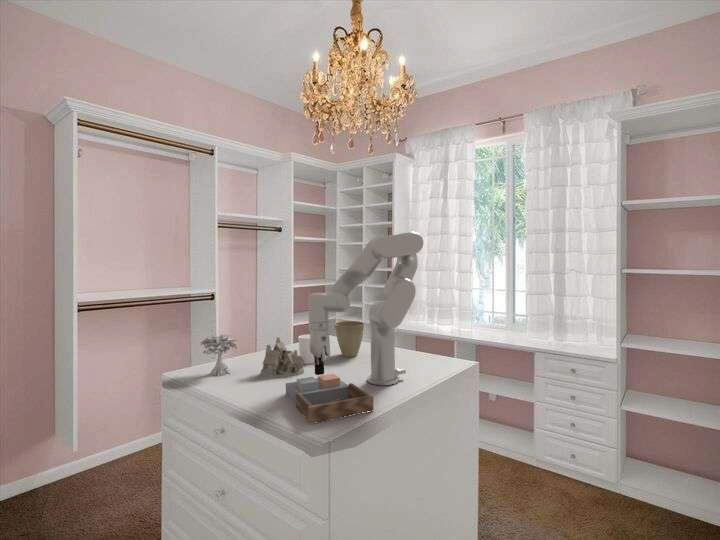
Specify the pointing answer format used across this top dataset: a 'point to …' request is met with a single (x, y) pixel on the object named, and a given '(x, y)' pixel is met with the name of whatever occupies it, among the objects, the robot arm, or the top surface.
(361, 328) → the plant pot
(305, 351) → the candle holder
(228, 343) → the tree
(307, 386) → the blue-grey tile
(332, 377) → the terracotta tile
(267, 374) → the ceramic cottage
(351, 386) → the box
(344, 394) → the grey flat block
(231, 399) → the top surface
